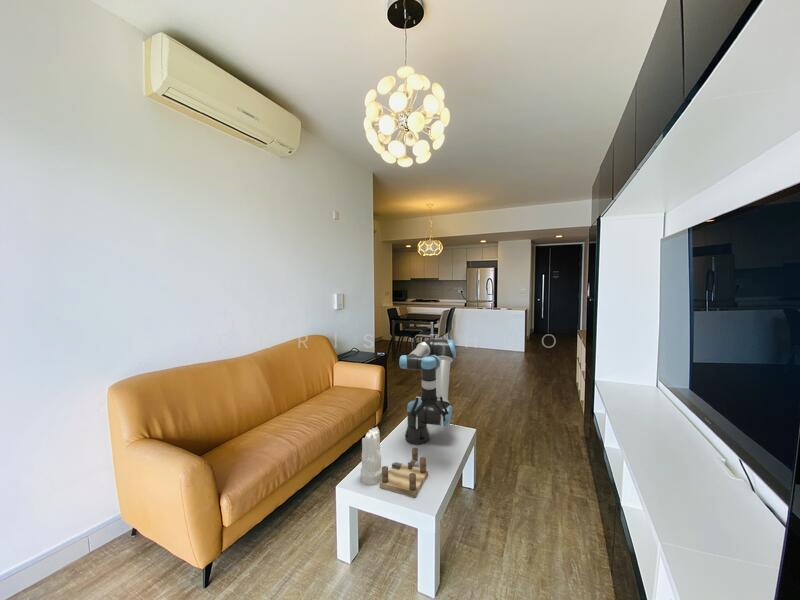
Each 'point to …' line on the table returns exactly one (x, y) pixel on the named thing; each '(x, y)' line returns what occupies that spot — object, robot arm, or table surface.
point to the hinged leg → (413, 457)
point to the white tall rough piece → (371, 458)
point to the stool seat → (404, 478)
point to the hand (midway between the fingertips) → (429, 427)
